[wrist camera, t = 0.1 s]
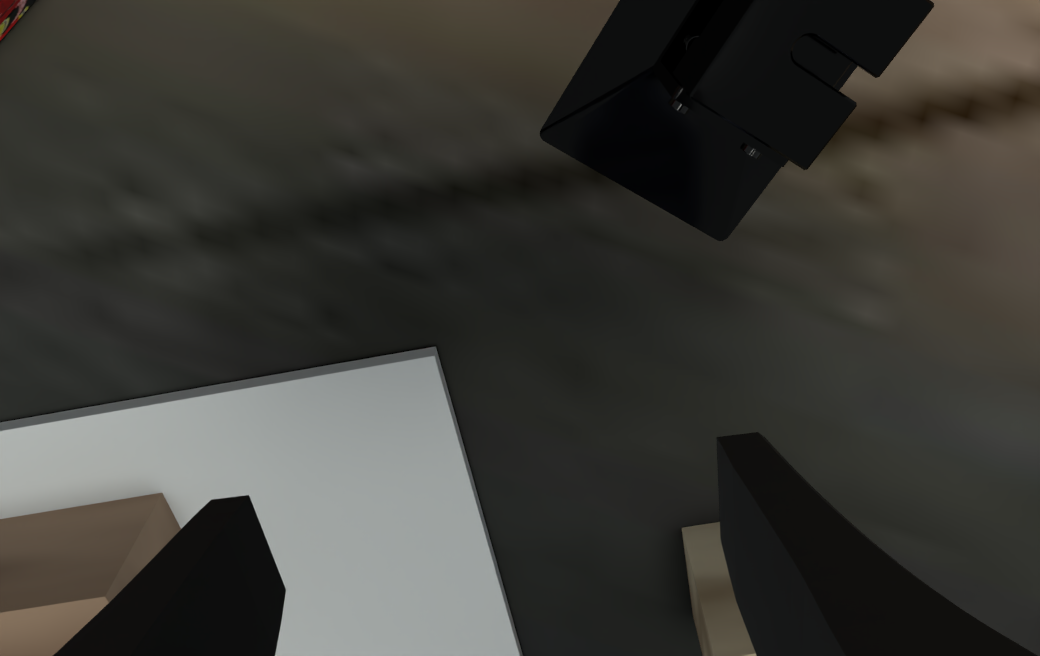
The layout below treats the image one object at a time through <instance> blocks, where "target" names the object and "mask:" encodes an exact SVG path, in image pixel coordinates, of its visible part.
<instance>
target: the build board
mask: <svg viewBox="0 0 1040 656" xmlns="http://www.w3.org/2000/svg"><path fill="white" fill-rule="evenodd" d="M156 493H163V495H164V497H165V499H166V501H167V503H168V505H169V506H170V508H171V510H172V512H173V514H174V516H175V518H176V520H177V522H178V524H179V526H180V528H181V529H182V528H183V527H184V526H185V525H186V524H187V523H188V522H189V521H190V520H191V519H192V517H193V516H194V515H195V514H196V513H198V512H199V511H200V510H201V509H202V508H203V507H204V506H205V505H206V504H207V503H208V502H209V501H210V500H212V499H221V498H229V497H237V496H245V495H249V496H250V499H251V501H252V504H253V507H254V509H255V512H256V514H257V517H258V519H259V522H260V524H261V527H262V530H263V532H264V535H265V537H266V540H267V542H268V545H269V547H270V550H271V553H272V555H273V558H274V560H275V563H276V565H277V568H278V571H279V573H280V576H281V578H282V581H283V583H284V586H285V588H286V594H285V601H284V607H283V614H282V621H281V627H280V632H279V638H278V643H277V648H276V653H275V656H523V654H522V651H521V647H520V644H519V640H518V637H517V633H516V629H515V626H514V622H513V619H512V615H511V612H510V608H509V605H508V601H507V597H506V594H505V590H504V587H503V583H502V580H501V576H500V573H499V569H498V565H497V562H496V558H495V555H494V551H493V548H492V544H491V541H490V537H489V534H488V530H487V526H486V523H485V519H484V516H483V512H482V509H481V505H480V502H479V498H478V494H477V491H476V487H475V484H474V480H473V477H472V473H471V470H470V466H469V463H468V459H467V455H466V452H465V448H464V445H463V441H462V438H461V434H460V431H459V427H458V423H457V420H456V416H455V413H454V409H453V406H452V402H451V399H450V395H449V392H448V388H447V384H446V381H445V377H444V374H443V370H442V367H441V363H440V360H439V356H438V352H437V349H436V346H435V347H430V348H424V349H418V350H412V351H407V352H401V353H395V354H389V355H384V356H378V357H372V358H367V359H361V360H355V361H349V362H344V363H338V364H332V365H326V366H321V367H315V368H309V369H303V370H298V371H292V372H286V373H281V374H275V375H269V376H263V377H258V378H252V379H246V380H240V381H235V382H229V383H223V384H217V385H212V386H206V387H200V388H195V389H189V390H183V391H177V392H172V393H166V394H160V395H154V396H149V397H143V398H137V399H132V400H126V401H120V402H114V403H109V404H103V405H97V406H91V407H86V408H80V409H74V410H68V411H63V412H57V413H51V414H46V415H40V416H34V417H28V418H23V419H17V420H11V421H5V422H0V519H4V518H10V517H16V516H23V515H29V514H35V513H41V512H47V511H53V510H59V509H65V508H71V507H77V506H83V505H90V504H96V503H102V502H108V501H114V500H120V499H126V498H132V497H138V496H144V495H150V494H156Z"/></svg>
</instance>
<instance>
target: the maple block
mask: <svg viewBox="0 0 1040 656" xmlns="http://www.w3.org/2000/svg"><path fill="white" fill-rule="evenodd" d="M682 535H683V543H684V551H685V558H686V566H687V574H688V581H689V589H690V597H691V604H692V612H693V618H694V622H695V626H696V630H697V634H698V638H699V642H700V646H701V650H702V655H703V656H757V655H756V653H755V650H754V647H753V645H752V642H751V639H750V637H749V634H748V632H747V629H746V626H745V624H744V621H743V618H742V616H741V613H740V610H739V608H738V605H737V602H736V599H735V595H734V591H733V587H732V583H731V580H730V576H729V572H728V568H727V564H726V560H725V556H724V552H723V548H722V544H721V539H720V522H716V523H710V524H703V525H697V526H690V527H684V528H682Z"/></svg>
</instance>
